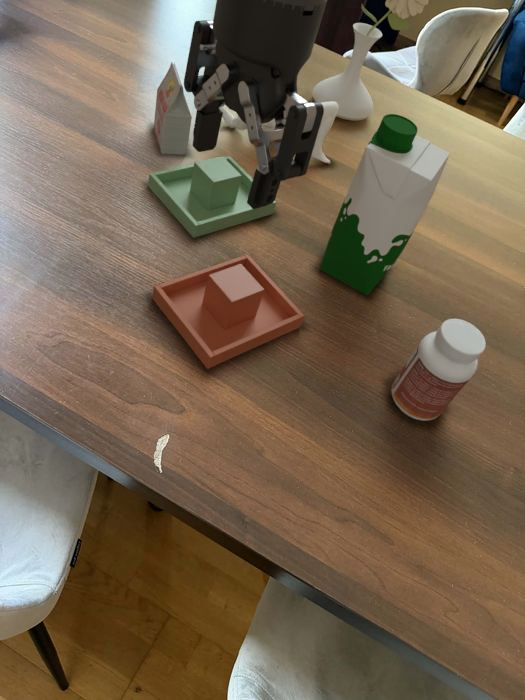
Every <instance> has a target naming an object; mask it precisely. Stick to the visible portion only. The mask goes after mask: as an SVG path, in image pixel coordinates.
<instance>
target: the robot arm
mask: <svg viewBox="0 0 525 700" xmlns="http://www.w3.org/2000/svg"><path fill="white" fill-rule="evenodd" d="M327 3H328V0H216V2H215V8H214V14H213V18H212V19H207V20H196V21H194V24H193V30H192V34H191V39H190V40H191V41H190V46H189V51H188V56H187V61H186V68H185V73H184V78H183V89H184V90H185V91H186V93H191V94H192V95H193V105H194V108H195V109H196V113H195V120H194V124H193V132H192V135H193V137H192V138H193V139H192V147H193V148H194V149H195V151H196V152H198V153H202V152H203V153H204V152H208V151H212V150H214V149H215V148H216V146H217V144H218V139H219V134H220V130H221V124H222V119H223V117H222V115H223V112H222V111H221V110H220V109H219V107H224V106H226V107H227V108H228V109H229V110H230V111H233V112H234V113H236V114H237V116H239V117H240V119H241V120H242V121H243V122H244V123H245V124H246V125H247V129H246V130H247V136H248V141H249V143H250V144H251V145H252V146H254V148H255V153H256V159H257V165H258V167H256V168H255V171H254V173H253V177H252V178H253V181H252V185H251V189H250V193H249V196H248V200H247V203H248V204H249V205H250V206H251V207H252V209H257V208H260V207H264V206H267V205H268V204H272V203H273V202H274V201H276V198H277V195H278V191H279V188H280V185H281V182H284V181H286V180H290V179H294V178H299V177H302V176H305V175H306V174H307V172H308V169H309V166H310V165H309V164H310V162H311V159H312V158H311V155H312V151H313V148H314V145H315V141H316V138H317V134H318V131H319V128H320V124H321V121H322V117H323V114H324V108H323V105H322V104H321V103H320V102H318V101H317V102H315V101H307V99H305V98H303V97H302V96H301V95H299V94H298V77H299V73H300V72H301V69H303V67H304V66H305V64H306V63H307V62H308V61H309V59H310V58H311V55H312V53H313V49H314V45H315V44H316V39H317V36H318V32H319V30H320V26H321V24H322V23H321V22H322V19H323V16H324V13H325V9H326V6H327ZM202 68H204V70H203V74H202V75H199V74H200V70H201V69H202ZM274 118H275V128H274V130H272V131H267V132H266V131H265V130H264V129H263V127H262V125H261V124H263V123H268V122H270V121H271V120H273V119H274ZM271 142H272V143H273V145H274V152H275V155H274V156H272V153H271V146H270V143H271Z"/></svg>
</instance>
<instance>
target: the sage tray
mask: <svg viewBox="0 0 525 700" xmlns="http://www.w3.org/2000/svg"><path fill="white" fill-rule="evenodd" d="M223 157H224V158H225V159H226V160H227V161H228V162H229V163H230V164H231V165H232V166H233V167H234V168H235V169H236V170H237V171H238V172H239V173H240V174H241V175H242V177H241V181H240V185H239V189H238V193H237V198H236V202H235V203H234V204H231V205H227V206H223V207H220V208H216V209H213V210H209V211H208V210H207V209H206V208H205V207H204V206H203V204H202V203H201V202H200V201H199V200H198V199H197V198H196V197H195V196H194V195H193V194H192V192H191V191H190V187H191V181H192V175H193V169H194V163H191V164H187V165H182V166H178V167H173V168H169V169H163V170H159V171H154V172H151V173H149V174H148V183H147V187H148V188H149V189H150V190H151V191H152V192H153V194H154V195H156V197H157V198H158V199H159V200H160V201H161V203H163V205H164V206H165V207H166V208H167V209H168V211H169V212H170V213H171V214H172V215H173V216H174V218H176V220H177V221H178V222H179V224H181V225H182V226H183V228H184V229H185V230H186V231H187V232H188V234H189V235H190V236H191V237H192V238H193V239H195V238H198V237H202V236H205V235H207V234H211V233H214V232H218V231H221V230H224V229H228V228H231V227H234V226H237V225H242V224H244V223H249V222H251V221H253V220H257V219H261V218H264V217H267V216H271V215H274V212H275V209H276V205H277V201H276V200H275V201H274V202H273V203H272V204H268V205H267V206H264V207H260V208H257V209H252V207H251V206H250V205H249V204H248V203H247V200H248V196H249V193H250V189H251V185H252V181H253V178H254V177H252V176H251V175H250V174H249V173H248V172H247V171H246V170H245V169H244V168H243V167H242V166H241V165H240V164H239V163H238V162H237V161H236V160H235V159H233V157H232V156H231V155H226V156H223Z"/></svg>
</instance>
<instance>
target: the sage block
mask: <svg viewBox="0 0 525 700" xmlns="http://www.w3.org/2000/svg"><path fill="white" fill-rule="evenodd" d="M224 157H225V156H223V155H221V156H217V157H213V158H208V159H202V160H198V161H195V162H194V163H193V164H194V169H193V175H192V181H191V187H190V191H191V192H192V194H193V195H194V196H195V197H196V198H197V199H198V200H199V201H200V202H201V203H202V204H203V206H204V207H205V208H206V209H207V210H208V211H209V210H213V209H216V208H220V207H223V206H227V205H231V204H234V203H235V202H236V198H237V193H238V189H239V185H240V181H241V177H242V175H241V174H240V173H239V172H238V171H237V170H236V169H235V168H234V167H233V166H232V165H231V164H230V163H229V162H228V161H227V160H226V159H225V158H224Z"/></svg>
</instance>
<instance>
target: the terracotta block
mask: <svg viewBox="0 0 525 700" xmlns="http://www.w3.org/2000/svg"><path fill="white" fill-rule="evenodd" d="M263 293H264V288H263V287H262V286H261V285H260V284H259V283H258V282H257V281H256V280H255V278H254V277H253V276H252V275H251V274H250V273H249V272H248V271H247V270H246V268H245V267H244V266H243V265H242V264H238V265H235V266H233V267H230V268H227V269H224V270H221V271H218V272H215V273H213V274H210V275H208V279H207V284H206V288H205V293H204V297H203V302H202V303H203V304H204V306H205V307H206V308H207V309H208V310H209V312H210V313H211V314H212V315H213V317H214V318H215V319H216V320H217V321H218V323H219V324H220V325H221V326H222V327H223V329H224V330H225V329H228V328H230V327H232V326H235V325H237V324H240V323H242V322H244V321H247V320H249V319H252V318H254V317H256V314H257V311H258V308H259V305H260V302H261V299H262V296H263Z"/></svg>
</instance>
